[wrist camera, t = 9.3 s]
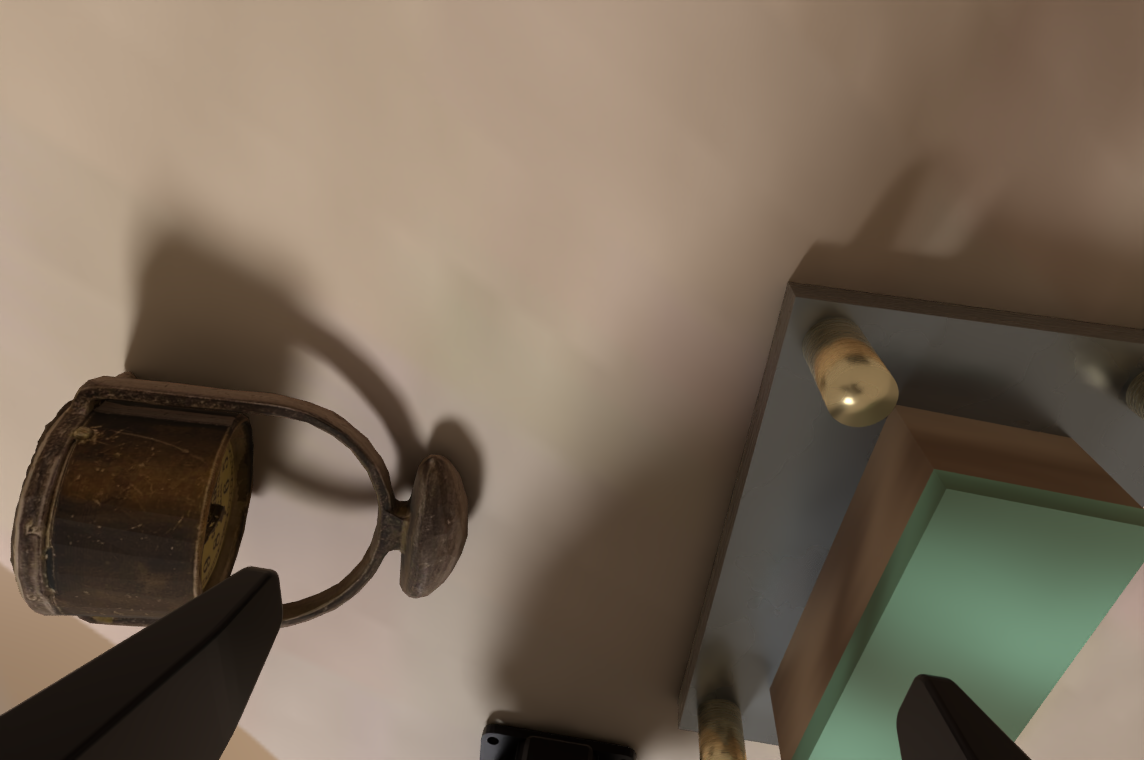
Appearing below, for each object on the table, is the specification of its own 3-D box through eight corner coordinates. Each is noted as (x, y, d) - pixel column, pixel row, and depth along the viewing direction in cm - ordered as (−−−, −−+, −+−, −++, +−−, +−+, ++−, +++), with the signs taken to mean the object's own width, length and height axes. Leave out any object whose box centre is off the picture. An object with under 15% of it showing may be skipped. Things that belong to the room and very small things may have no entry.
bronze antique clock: (10, 294, 16) (-135, 603, 18) (468, 590, 17) (278, 849, 19) (194, 270, 23) (73, 496, 25) (511, 481, 24) (368, 681, 26)
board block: (892, 403, 19) (947, 488, 16) (1072, 437, 19) (1166, 530, 16) (769, 689, 25) (787, 799, 21) (907, 716, 25) (949, 832, 21)
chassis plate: (964, 748, 27) (1013, 864, 23) (677, 701, 27) (681, 807, 24) (1202, 338, 19) (1338, 414, 15) (787, 282, 19) (819, 342, 16)
